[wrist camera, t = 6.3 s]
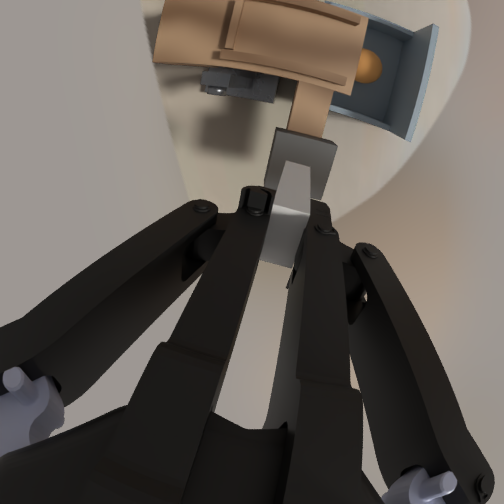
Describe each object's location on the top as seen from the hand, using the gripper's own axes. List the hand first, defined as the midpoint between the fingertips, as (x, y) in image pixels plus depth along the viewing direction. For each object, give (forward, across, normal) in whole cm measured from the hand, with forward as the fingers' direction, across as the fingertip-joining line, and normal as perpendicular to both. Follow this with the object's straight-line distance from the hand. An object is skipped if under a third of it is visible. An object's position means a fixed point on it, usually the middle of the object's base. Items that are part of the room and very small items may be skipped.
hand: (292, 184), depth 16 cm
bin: (+16, +4, +10) cm, 20 cm away
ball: (+14, +4, +10) cm, 18 cm away
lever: (+12, -6, +6) cm, 15 cm away
